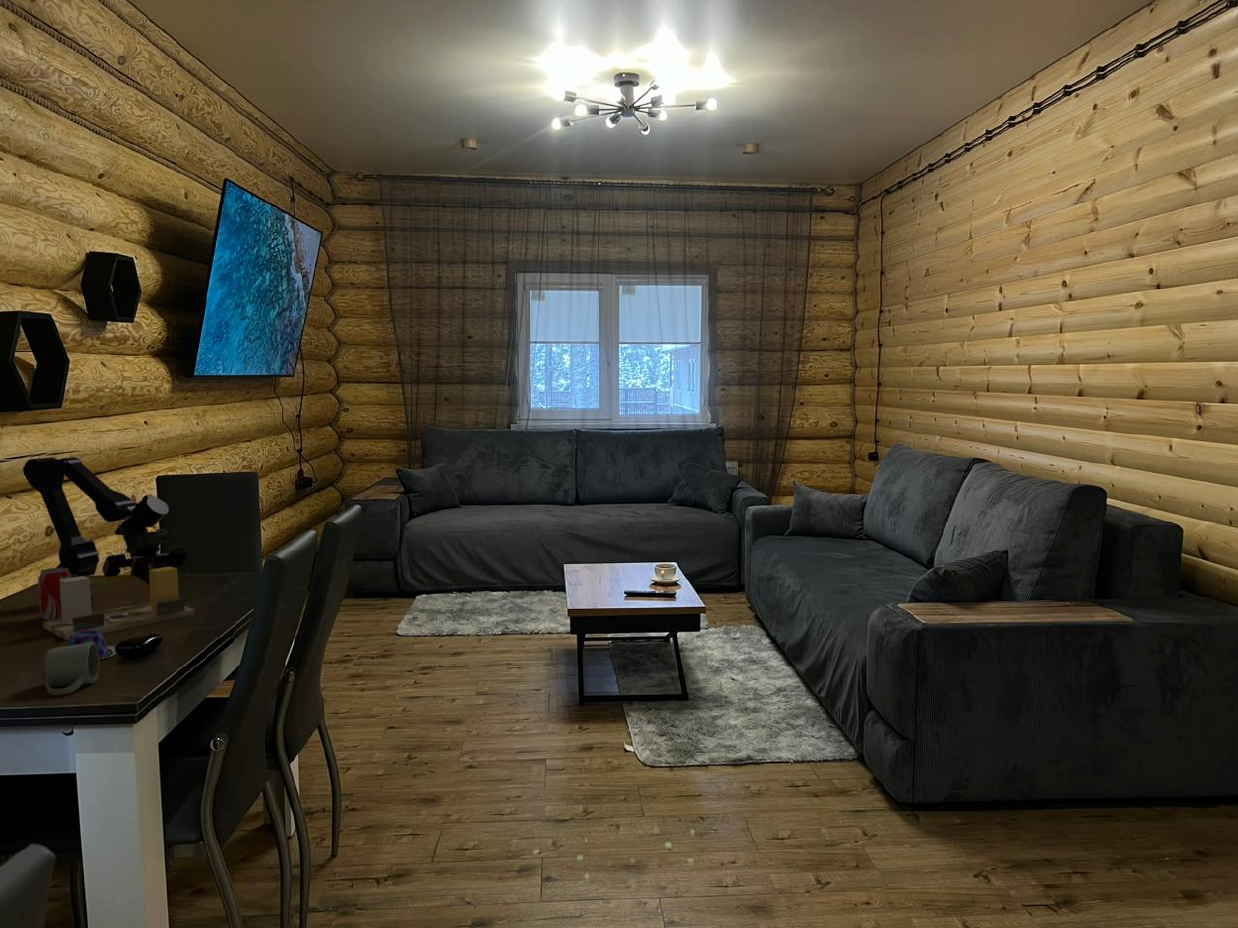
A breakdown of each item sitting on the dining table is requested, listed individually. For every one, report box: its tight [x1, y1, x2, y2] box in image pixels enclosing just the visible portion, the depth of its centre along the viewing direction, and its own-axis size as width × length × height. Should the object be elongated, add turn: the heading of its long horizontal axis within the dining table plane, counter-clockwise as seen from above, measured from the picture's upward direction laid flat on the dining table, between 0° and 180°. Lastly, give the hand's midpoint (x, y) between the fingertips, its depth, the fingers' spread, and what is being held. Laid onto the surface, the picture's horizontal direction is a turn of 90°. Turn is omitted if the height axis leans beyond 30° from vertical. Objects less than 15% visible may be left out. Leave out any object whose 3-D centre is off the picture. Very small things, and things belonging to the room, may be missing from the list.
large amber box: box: [149, 566, 180, 612], centre depth 213 cm, size 4×5×10 cm
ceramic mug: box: [40, 642, 100, 696], centre depth 164 cm, size 11×8×8 cm
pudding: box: [66, 630, 117, 661], centre depth 182 cm, size 12×12×5 cm
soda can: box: [37, 567, 72, 621], centre depth 212 cm, size 7×7×12 cm
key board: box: [42, 597, 195, 641], centre depth 209 cm, size 16×28×4 cm, turn 139°
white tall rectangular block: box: [60, 576, 93, 625], centre depth 203 cm, size 4×5×10 cm
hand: (156, 587), depth 216 cm, fingers closed
